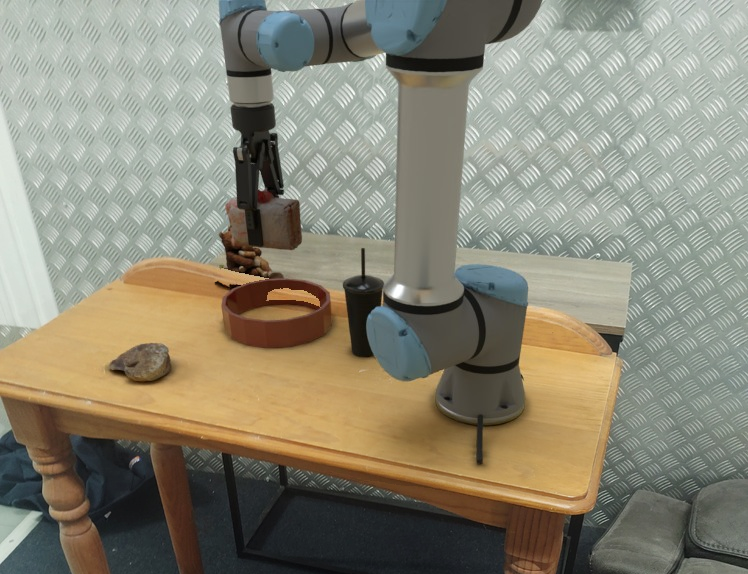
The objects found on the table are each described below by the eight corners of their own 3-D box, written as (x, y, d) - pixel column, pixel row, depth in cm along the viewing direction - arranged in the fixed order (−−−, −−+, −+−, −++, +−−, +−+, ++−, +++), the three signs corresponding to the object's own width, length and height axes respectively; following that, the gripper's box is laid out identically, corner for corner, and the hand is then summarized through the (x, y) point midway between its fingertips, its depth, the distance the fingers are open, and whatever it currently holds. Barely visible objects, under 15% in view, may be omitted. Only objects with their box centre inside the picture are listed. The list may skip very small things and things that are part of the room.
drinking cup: (379, 362, 136) (379, 257, 123) (340, 358, 137) (336, 254, 124) (387, 344, 141) (388, 242, 129) (349, 341, 143) (347, 240, 130)
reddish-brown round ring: (309, 353, 138) (307, 327, 135) (206, 339, 143) (202, 314, 140) (345, 309, 155) (344, 284, 151) (252, 297, 160) (249, 273, 156)
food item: (225, 248, 135) (217, 193, 129) (242, 235, 141) (235, 182, 135) (292, 254, 132) (288, 198, 126) (307, 240, 138) (303, 186, 132)
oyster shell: (147, 351, 140) (141, 327, 137) (185, 371, 133) (180, 346, 130) (103, 368, 134) (97, 344, 131) (141, 390, 128) (135, 365, 125)
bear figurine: (254, 297, 160) (248, 242, 153) (205, 283, 166) (196, 230, 159) (291, 278, 169) (287, 225, 162) (243, 265, 175) (237, 214, 168)
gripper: (257, 92, 131) (270, 220, 145) (203, 113, 115) (223, 254, 129) (295, 94, 129) (304, 223, 143) (245, 115, 113) (261, 258, 127)
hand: (265, 237), depth 136 cm, fingers closed on food item, 8 cm apart
